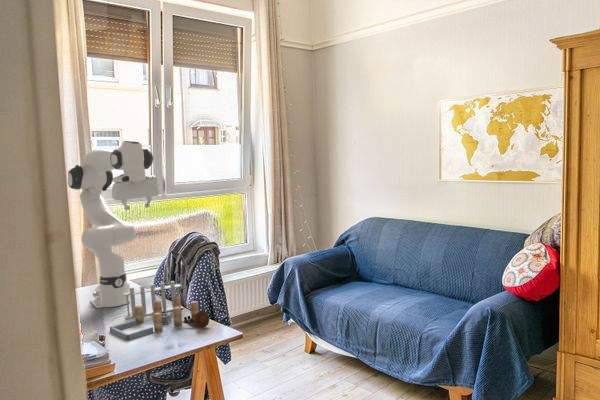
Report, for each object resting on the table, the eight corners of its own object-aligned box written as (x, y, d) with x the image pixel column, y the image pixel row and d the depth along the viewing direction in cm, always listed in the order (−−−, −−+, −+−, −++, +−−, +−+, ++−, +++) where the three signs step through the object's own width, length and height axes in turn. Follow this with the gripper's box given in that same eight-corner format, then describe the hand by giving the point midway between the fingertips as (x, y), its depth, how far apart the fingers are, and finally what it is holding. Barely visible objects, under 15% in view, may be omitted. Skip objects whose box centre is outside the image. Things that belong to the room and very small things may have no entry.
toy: (195, 308, 208) (212, 307, 196) (198, 325, 207) (216, 325, 196) (175, 314, 202) (191, 313, 190) (178, 331, 201) (195, 332, 190)
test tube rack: (126, 319, 210) (123, 290, 209) (125, 317, 214) (122, 288, 213) (183, 309, 221) (181, 281, 220) (181, 306, 225) (179, 279, 224)
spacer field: (134, 323, 205) (132, 307, 204) (177, 310, 220) (176, 295, 219) (156, 332, 192) (155, 315, 191) (201, 318, 207) (200, 302, 206)
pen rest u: (110, 332, 195) (109, 327, 195) (135, 324, 203) (135, 319, 203) (127, 340, 185) (126, 335, 185) (153, 332, 193) (153, 327, 193)
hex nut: (155, 322, 205) (154, 315, 204) (165, 319, 208) (165, 311, 208) (162, 325, 201) (161, 317, 200) (172, 322, 204) (172, 314, 204)
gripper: (153, 175, 219) (155, 205, 220) (109, 178, 205) (111, 211, 206) (160, 175, 215) (162, 206, 216) (115, 178, 200) (118, 211, 201)
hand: (137, 208), depth 211 cm, fingers open, 8 cm apart
